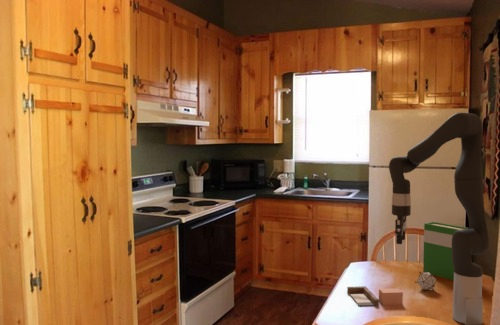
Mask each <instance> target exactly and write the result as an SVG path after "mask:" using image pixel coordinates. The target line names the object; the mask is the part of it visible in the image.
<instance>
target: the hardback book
mask: <svg viewBox="0 0 500 325" xmlns="http://www.w3.org/2000/svg"><path fill="white" fill-rule="evenodd" d="M423 224H424V226H423V228H424V229H423V233H424V234H423V267H422V268H423V269H422V273H426V272H428V271H430V272H429V273H430V274H432V275H433V276H436V277H440V278H443V279H446V280H451V281H454V266H453V263H452V236H453V234H454V232H455V231H457V230H462V229H469V227H465V226H460V225H455V224H454V225H453V224H448V223H442V222H437V221H430V222H426V223H423Z"/></svg>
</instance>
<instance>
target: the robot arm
mask: <svg viewBox="0 0 500 325" xmlns="http://www.w3.org/2000/svg"><path fill="white" fill-rule="evenodd" d="M455 139H460V142H461V150H460V151H461V153H460V158H459V160H458V162H457V165H456V167H455V171H454V176H453V177H454V180H453V181H454V182H453V183H454V193H455V196H456V198H457V199H458V201H459V203H460V204H461V206H462V207H463V209H464V211H465V212H466V214H467V219H468V226H469V227H468V229H462V230H457V231H455V232H454V234H453V236H452V263H453V266H454V280H453V285H452V286H453V287H452V291H453V292H452V293H453V294H452V319H453V320H454V321H455V322H458V323H460V324H463V325H483V310H484V309H483V308H484V298H483V296H482V292H483V267H482V266H481V265H479V264H476V263H475V262H473V259H472V256H476V255H477V256H478V255H484V254H485V253H487V251H488V250H489V247H490V241H489V240H490V238H489V232H488V231H489V230H488V226H487V220H486V211H485V201H484V200H485V199H484V180H483V179H484V177H483V165H482V164H483V162H482V160H483V159H482V142H483V122H482V120H481V118H480V116H479V115H477V114H475V113H471V112H456V113H454V114H452V115H451V116H449V117H448V118H447V119H446V120H445V121H444V122H443V123H442V124H441V125H440V126H438V128H436V129H435V130H434V131H433V132H432V133H430V135H428V136H427V137H426V138H424V139H423V140H422V141H420V142H418V143H417V144H415V145H414V146H412V147H411V148H409V149H408V151H407V153H406V155H405V156H394V157H392V158H391V159H390V161H389V163H388V170H389V174H390V178H391V182H392V195H391V215H393V216H396V219H395V221H394V222H395V224H394V226H395V230H394V233H395V236H396V242H395V243H396V244H397V245H402V244H403V241H405V240H406V232H407V231H406V230H407V222H408V221H407V217H409V216H411V212H412V211H411V210H412V208H411V207H412V206H411V205H412V198H411V182H410V180H409V179H407V178H405V175H404V174H408V173H411V172H413V171H414V170H416V169H417V168H418V167H419V166H420V165H421V164H422V163H423V162H425V161H427V160H428V159H430V158H432V157H433V156H434V155H435V154H437V152H438V151H439V150H440V148H442V146H443V145H445V144H446V143H448V142H451V141H453V140H455Z"/></svg>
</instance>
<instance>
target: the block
mask: <svg viewBox="0 0 500 325" xmlns="http://www.w3.org/2000/svg"><path fill="white" fill-rule="evenodd" d="M403 296H404V292H403V291H402V290H400V288H398V287H397V288H396V287H395V288H379V289H378V299H379V303H380V304H381V305H383V306H389V305H390V306H392V305H393V306H394V305H397V306H398V305H403V304H404V303H403V302H404V300H403V298H404V297H403Z"/></svg>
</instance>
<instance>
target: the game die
mask: <svg viewBox="0 0 500 325" xmlns="http://www.w3.org/2000/svg"><path fill="white" fill-rule="evenodd" d="M429 272H430V271H428V272H426V273H425V272H421V271H419V275H418V279H417V280H416V281H414V283H415V284H417V285H419V286H420V287H421V289H422V290H423V292H426V291H429V290H432V291H434V290H435V289H434V288H435V287H436V286H435V285H436V283H437V281H439V278H436V277H435V275H432V274H430V273H429Z"/></svg>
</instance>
